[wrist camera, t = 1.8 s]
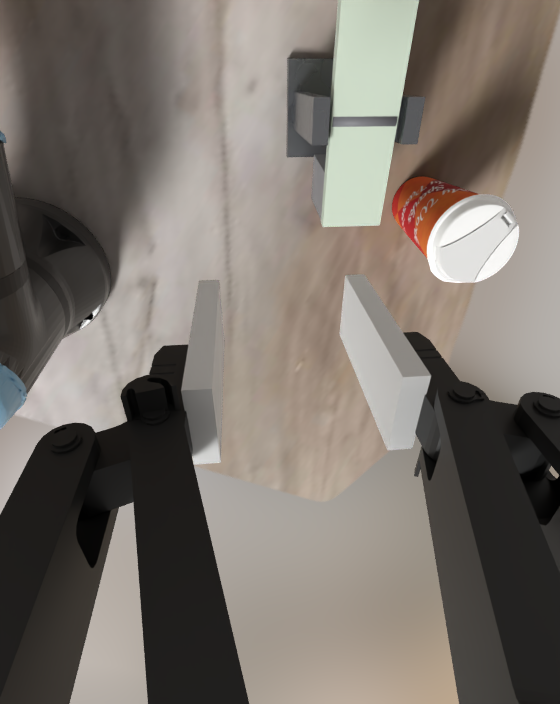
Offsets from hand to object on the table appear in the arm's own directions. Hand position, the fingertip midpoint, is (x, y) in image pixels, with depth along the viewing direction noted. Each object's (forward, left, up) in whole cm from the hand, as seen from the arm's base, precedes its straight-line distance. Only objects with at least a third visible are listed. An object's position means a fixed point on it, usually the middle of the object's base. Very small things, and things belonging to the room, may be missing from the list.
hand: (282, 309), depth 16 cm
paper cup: (+18, -4, -31) cm, 36 cm away
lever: (+8, +8, -26) cm, 28 cm away
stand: (+8, +5, -31) cm, 32 cm away
